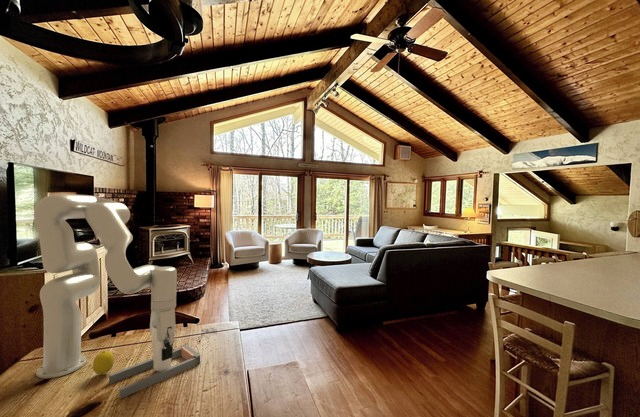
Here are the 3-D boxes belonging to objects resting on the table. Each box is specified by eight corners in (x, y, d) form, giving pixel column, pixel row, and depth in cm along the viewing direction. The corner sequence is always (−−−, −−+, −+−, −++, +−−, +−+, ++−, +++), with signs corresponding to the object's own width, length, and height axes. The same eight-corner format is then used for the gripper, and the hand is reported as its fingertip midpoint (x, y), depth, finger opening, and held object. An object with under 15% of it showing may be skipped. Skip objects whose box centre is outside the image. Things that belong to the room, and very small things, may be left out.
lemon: (112, 367, 95) (112, 344, 95) (115, 374, 91) (115, 351, 91) (91, 374, 91) (92, 350, 91) (93, 382, 88) (94, 357, 87)
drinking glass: (163, 374, 91) (164, 329, 90) (146, 371, 92) (146, 327, 92) (177, 363, 97) (178, 321, 97) (161, 360, 99) (162, 319, 98)
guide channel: (109, 382, 87) (109, 372, 87) (185, 352, 106) (185, 344, 106) (120, 399, 80) (120, 388, 80) (200, 363, 99) (200, 354, 99)
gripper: (142, 300, 97) (141, 350, 97) (162, 313, 86) (161, 370, 86) (165, 295, 103) (164, 342, 103) (186, 306, 92) (185, 360, 92)
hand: (162, 354), depth 95 cm, fingers closed on drinking glass, 6 cm apart
